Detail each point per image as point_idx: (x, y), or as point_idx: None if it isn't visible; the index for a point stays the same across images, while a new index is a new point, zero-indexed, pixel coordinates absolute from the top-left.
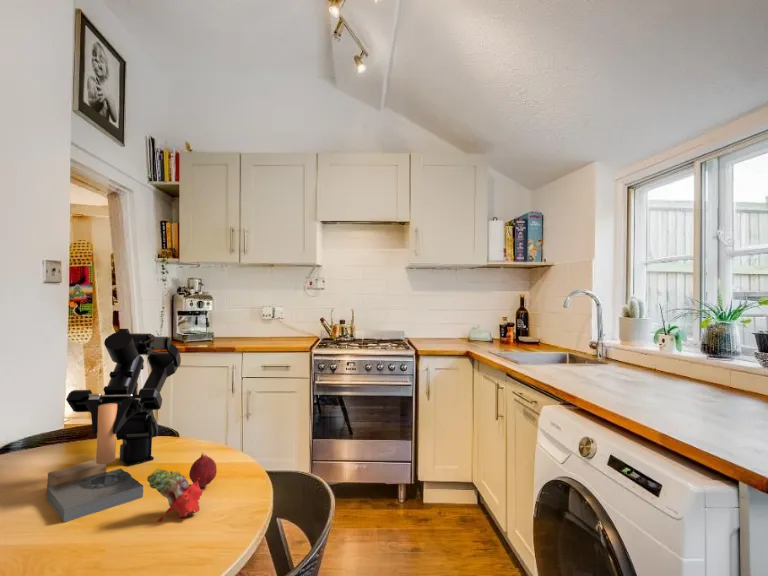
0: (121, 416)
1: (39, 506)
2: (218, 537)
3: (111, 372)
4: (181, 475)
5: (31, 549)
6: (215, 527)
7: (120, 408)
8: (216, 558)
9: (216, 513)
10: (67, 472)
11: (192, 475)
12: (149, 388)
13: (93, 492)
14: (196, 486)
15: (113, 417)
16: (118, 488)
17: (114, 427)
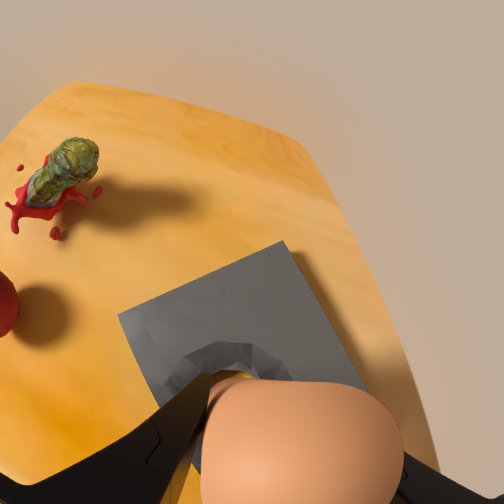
0: (154, 415)
1: (354, 355)
2: (48, 126)
3: None
4: (29, 193)
5: (293, 176)
6: (40, 148)
7: (163, 471)
8: (68, 93)
9: None
10: None
11: (9, 284)
12: None
13: (242, 320)
14: (19, 200)
15: (218, 409)
16: (179, 321)
17: (203, 384)
